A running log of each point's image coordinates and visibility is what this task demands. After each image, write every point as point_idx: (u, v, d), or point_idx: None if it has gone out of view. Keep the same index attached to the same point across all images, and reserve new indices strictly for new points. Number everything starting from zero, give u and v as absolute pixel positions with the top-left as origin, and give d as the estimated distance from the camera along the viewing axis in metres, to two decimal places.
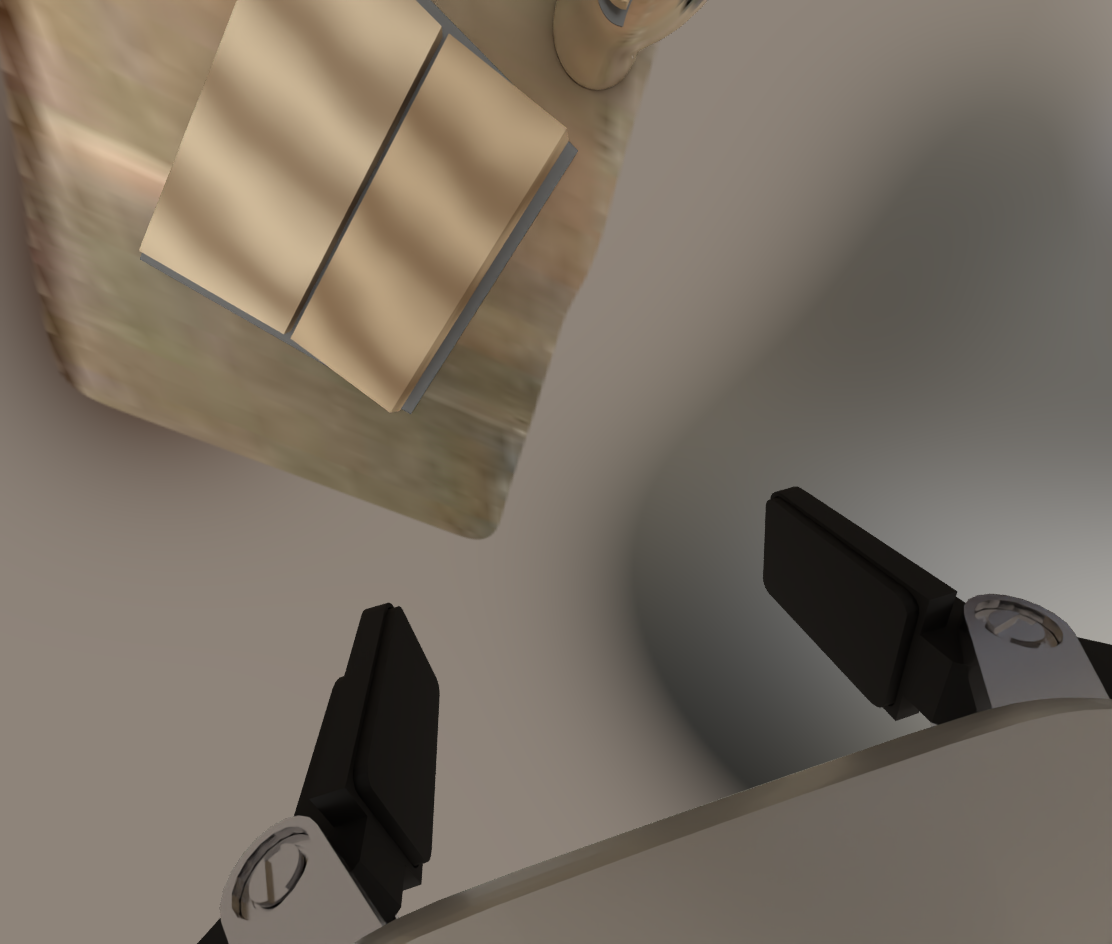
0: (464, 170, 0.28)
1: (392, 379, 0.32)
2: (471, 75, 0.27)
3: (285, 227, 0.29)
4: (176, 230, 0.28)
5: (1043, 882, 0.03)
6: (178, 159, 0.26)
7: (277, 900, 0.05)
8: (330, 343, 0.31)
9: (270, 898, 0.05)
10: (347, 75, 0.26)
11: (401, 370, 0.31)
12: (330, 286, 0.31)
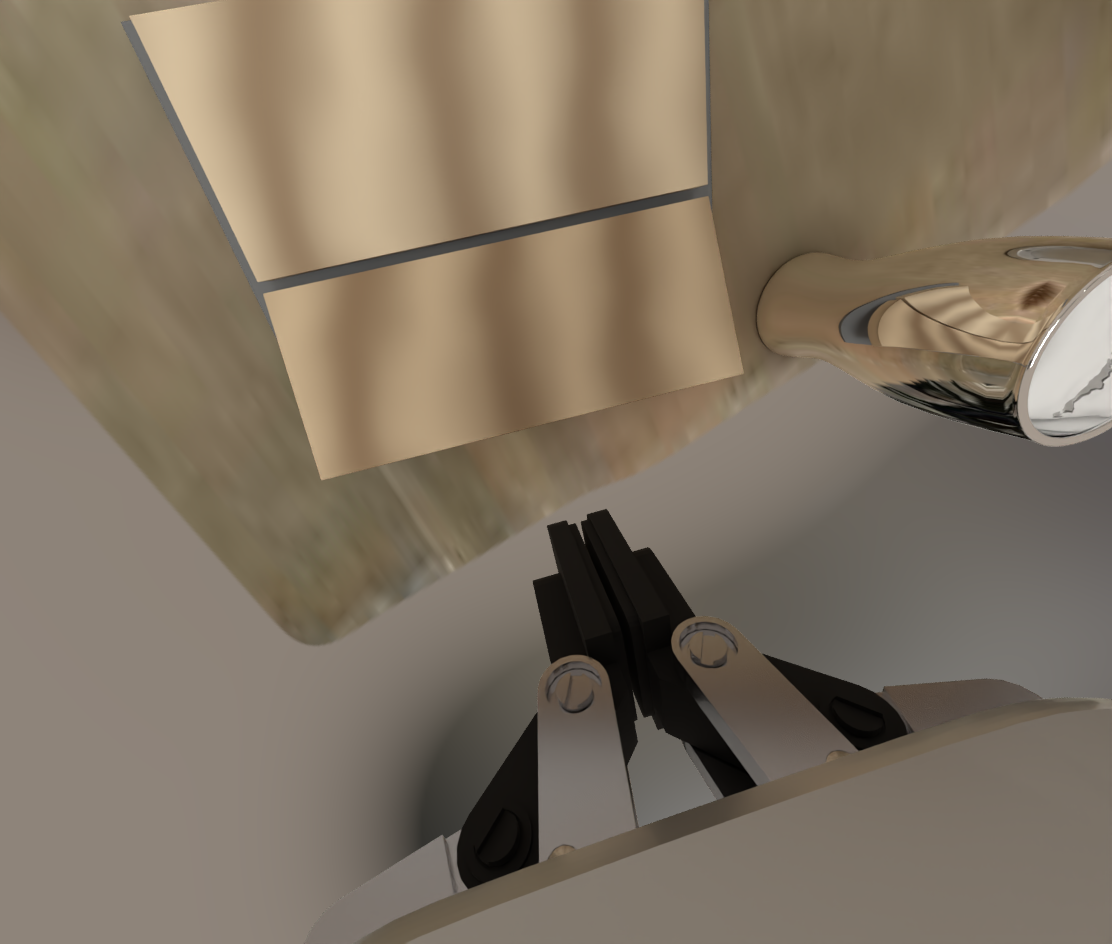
0: (624, 318, 0.22)
1: (358, 446, 0.21)
2: (699, 249, 0.22)
3: (378, 185, 0.19)
4: (219, 52, 0.16)
5: (1043, 882, 0.03)
6: None
7: (570, 709, 0.07)
8: (314, 344, 0.20)
9: (566, 703, 0.07)
10: (589, 129, 0.20)
11: (380, 445, 0.21)
12: (374, 288, 0.20)
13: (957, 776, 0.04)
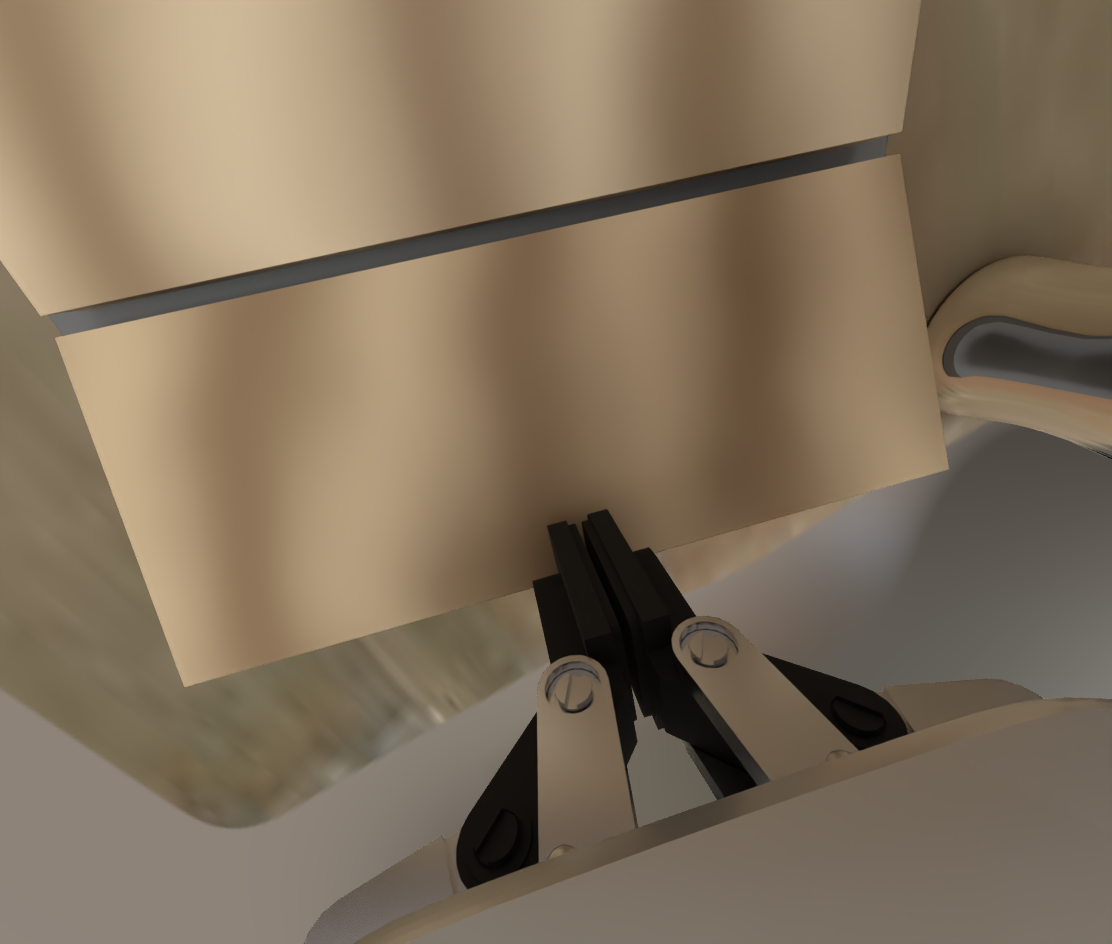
0: (747, 376, 0.12)
1: (256, 622, 0.11)
2: (880, 251, 0.12)
3: (275, 118, 0.09)
4: None
5: (1043, 882, 0.03)
6: None
7: (569, 709, 0.07)
8: (163, 433, 0.11)
9: (565, 703, 0.07)
10: (703, 10, 0.10)
11: (297, 619, 0.11)
12: (279, 325, 0.11)
13: (957, 776, 0.04)
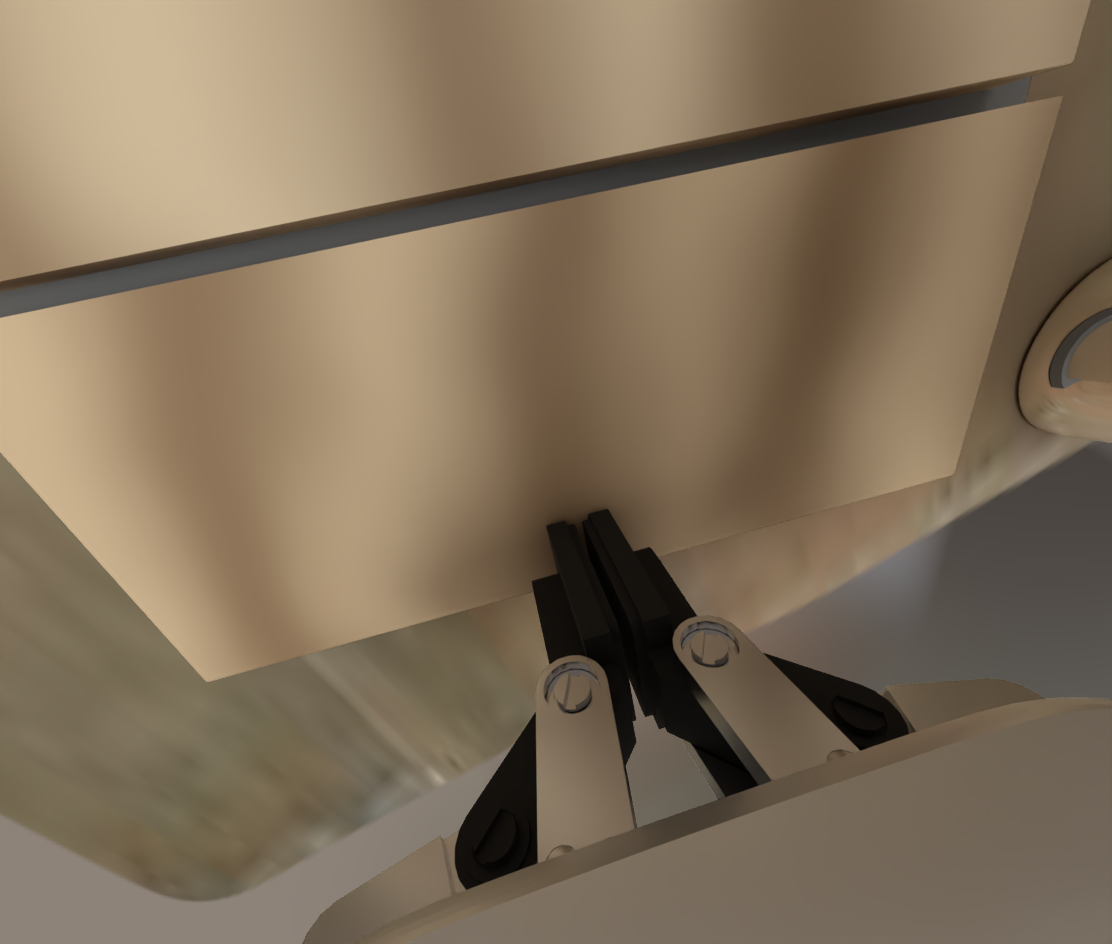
0: (793, 387, 0.11)
1: (268, 630, 0.11)
2: (985, 237, 0.10)
3: (198, 14, 0.06)
4: None
5: (1043, 882, 0.03)
6: None
7: (568, 709, 0.07)
8: (106, 459, 0.09)
9: (564, 704, 0.07)
10: None
11: (311, 625, 0.11)
12: (230, 324, 0.08)
13: (957, 776, 0.04)
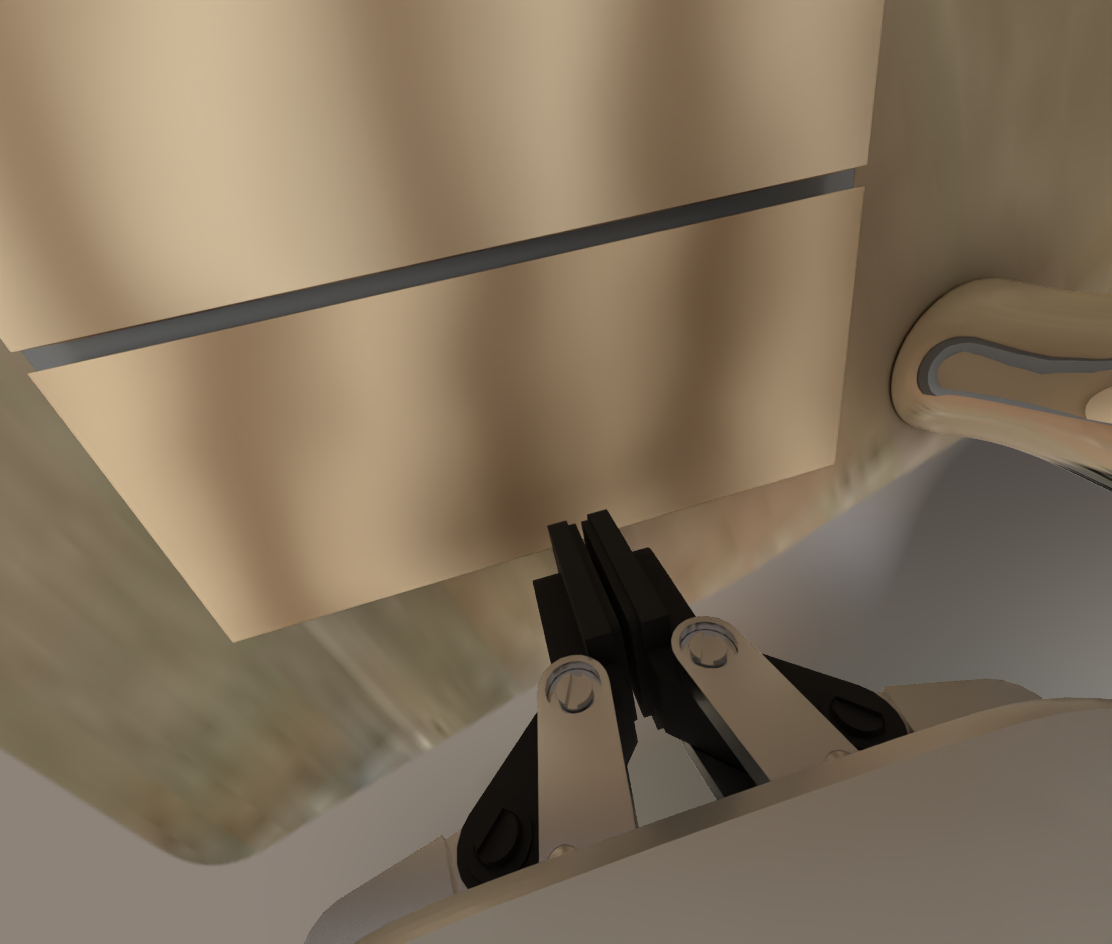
0: (692, 397, 0.14)
1: (284, 597, 0.14)
2: (825, 284, 0.13)
3: (250, 158, 0.09)
4: None
5: (1043, 882, 0.03)
6: None
7: (570, 709, 0.07)
8: (167, 459, 0.11)
9: (566, 703, 0.07)
10: (671, 53, 0.10)
11: (318, 593, 0.14)
12: (263, 358, 0.11)
13: (957, 776, 0.04)
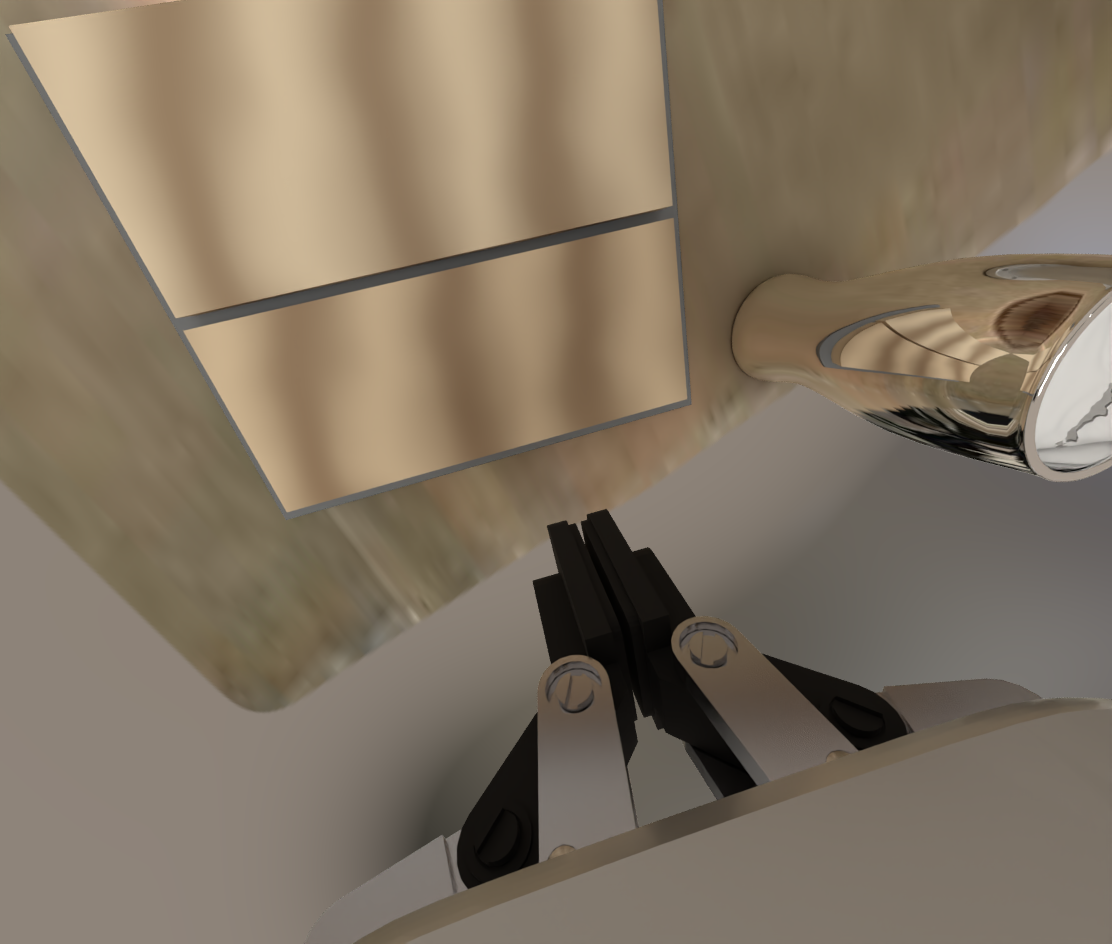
0: (580, 350, 0.22)
1: (320, 481, 0.22)
2: (658, 277, 0.21)
3: (310, 211, 0.17)
4: (118, 66, 0.15)
5: (1043, 882, 0.03)
6: (219, 1, 0.14)
7: (570, 709, 0.07)
8: (255, 384, 0.19)
9: (566, 703, 0.07)
10: (542, 148, 0.18)
11: (342, 479, 0.22)
12: (313, 322, 0.19)
13: (957, 776, 0.04)
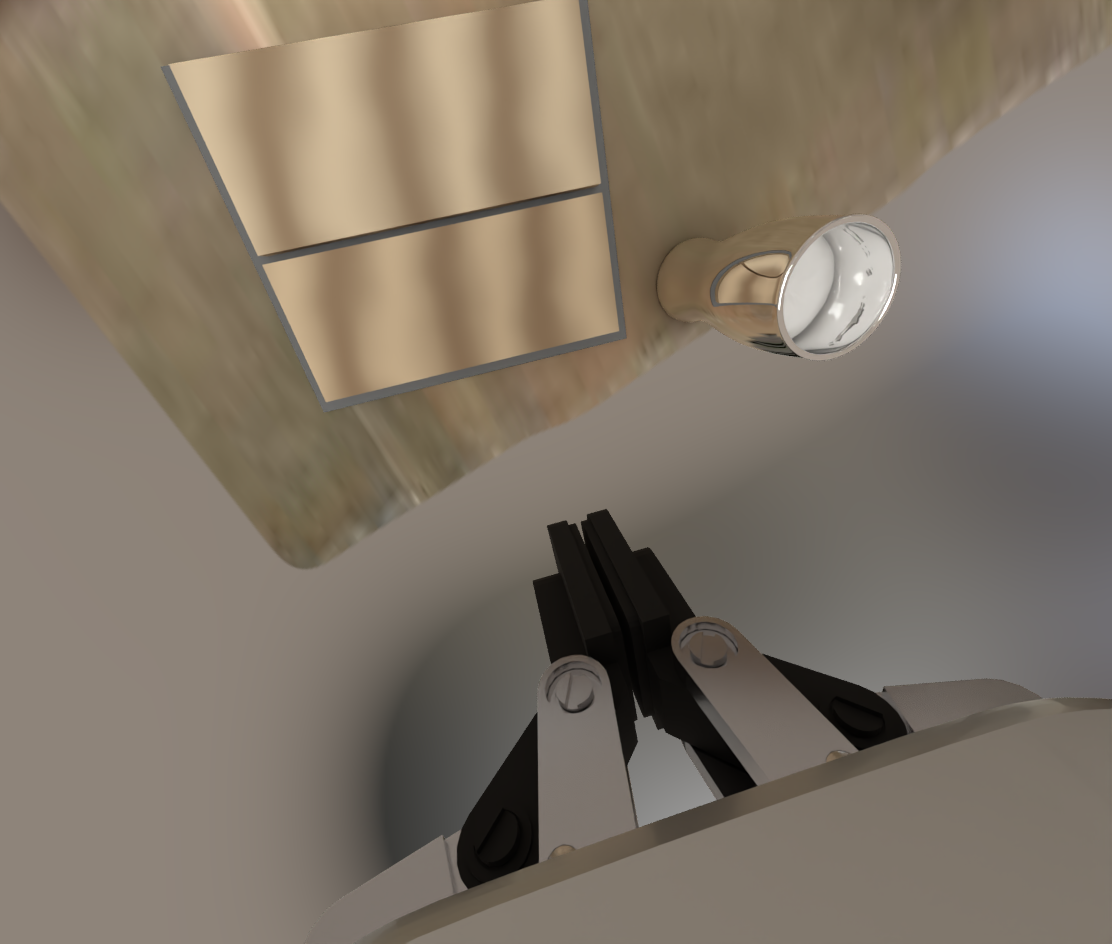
0: (536, 289, 0.30)
1: (350, 379, 0.30)
2: (592, 236, 0.29)
3: (348, 183, 0.26)
4: (231, 88, 0.23)
5: (1043, 882, 0.03)
6: (295, 46, 0.23)
7: (570, 709, 0.07)
8: (307, 305, 0.28)
9: (566, 703, 0.07)
10: (505, 142, 0.26)
11: (365, 379, 0.31)
12: (347, 262, 0.27)
13: (957, 776, 0.04)
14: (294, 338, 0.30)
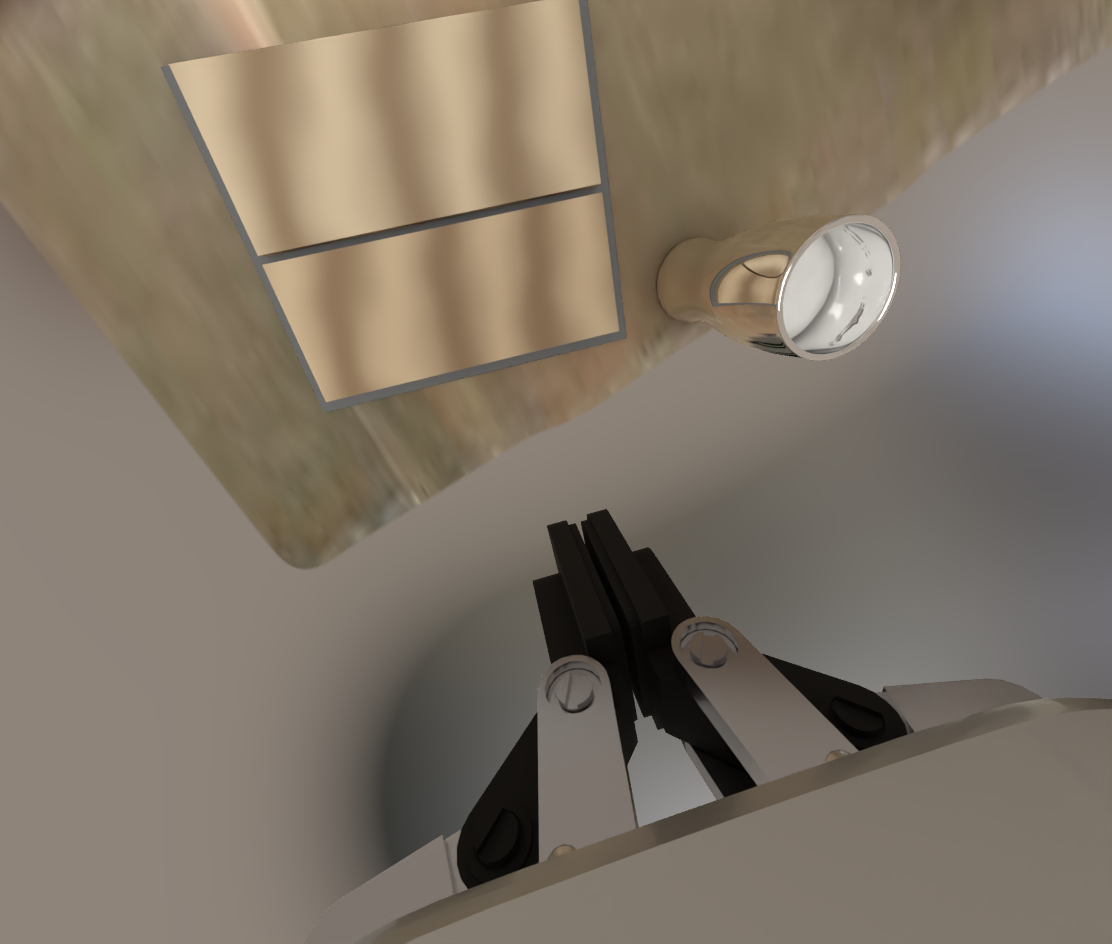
0: (536, 289, 0.30)
1: (350, 379, 0.30)
2: (592, 236, 0.29)
3: (348, 183, 0.26)
4: (231, 88, 0.23)
5: (1043, 882, 0.03)
6: (295, 46, 0.23)
7: (570, 709, 0.07)
8: (307, 305, 0.28)
9: (566, 703, 0.07)
10: (505, 142, 0.26)
11: (365, 379, 0.31)
12: (347, 262, 0.27)
13: (957, 776, 0.04)
14: (294, 338, 0.30)
